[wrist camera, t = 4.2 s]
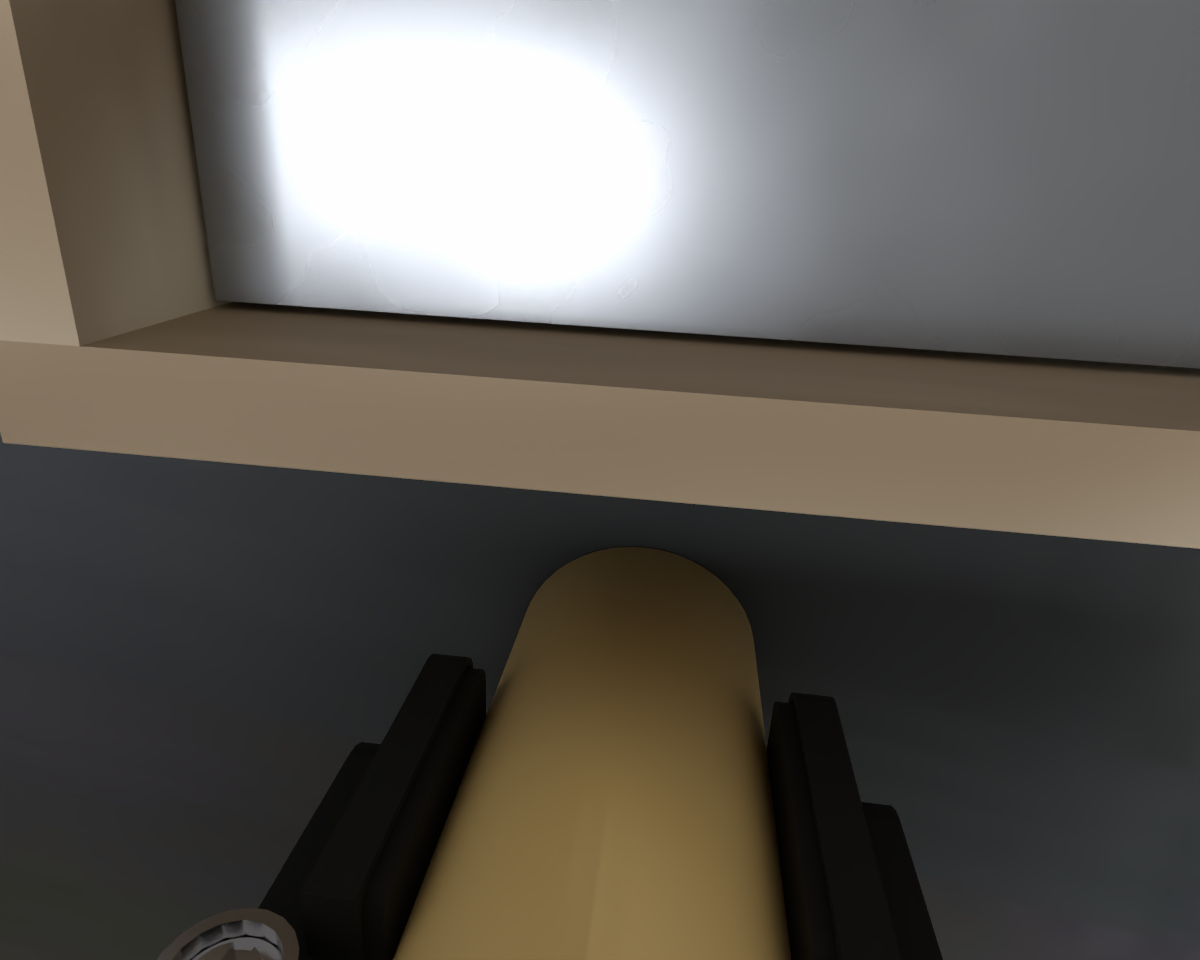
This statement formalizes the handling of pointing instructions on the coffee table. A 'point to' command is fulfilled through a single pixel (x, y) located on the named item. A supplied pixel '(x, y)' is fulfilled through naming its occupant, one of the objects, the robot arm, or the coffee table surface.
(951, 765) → the coffee table surface
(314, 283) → the bore plate
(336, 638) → the coffee table surface
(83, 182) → the open box
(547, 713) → the peg
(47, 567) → the coffee table surface
